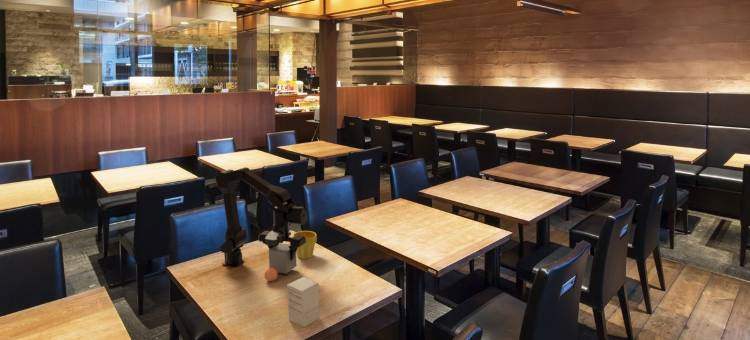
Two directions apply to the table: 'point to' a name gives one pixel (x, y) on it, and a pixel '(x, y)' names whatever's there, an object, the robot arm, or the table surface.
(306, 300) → the supplement box
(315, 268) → the table surface
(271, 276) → the ball
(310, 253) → the plant pot
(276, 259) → the grey cube
